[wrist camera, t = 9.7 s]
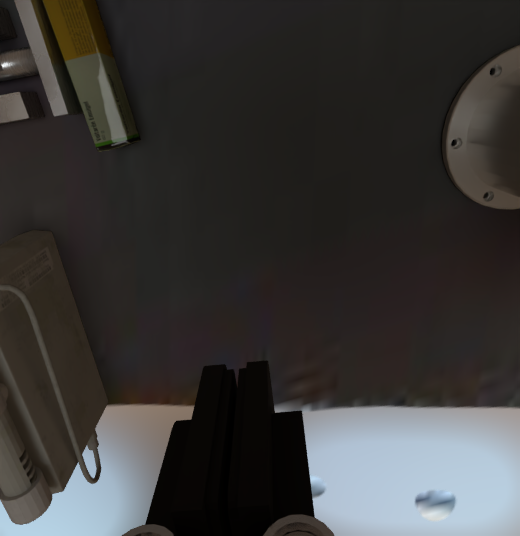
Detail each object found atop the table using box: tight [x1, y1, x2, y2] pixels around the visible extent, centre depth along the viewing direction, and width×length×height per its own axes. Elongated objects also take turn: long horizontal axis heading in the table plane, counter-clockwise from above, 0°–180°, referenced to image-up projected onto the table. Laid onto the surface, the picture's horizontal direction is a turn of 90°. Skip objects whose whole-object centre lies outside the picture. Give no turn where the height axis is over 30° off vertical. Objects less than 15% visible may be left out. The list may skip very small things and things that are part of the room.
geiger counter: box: [0, 230, 108, 525], centre depth 34 cm, size 14×6×25 cm
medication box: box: [42, 0, 140, 152], centre depth 29 cm, size 12×3×4 cm, turn 13°
